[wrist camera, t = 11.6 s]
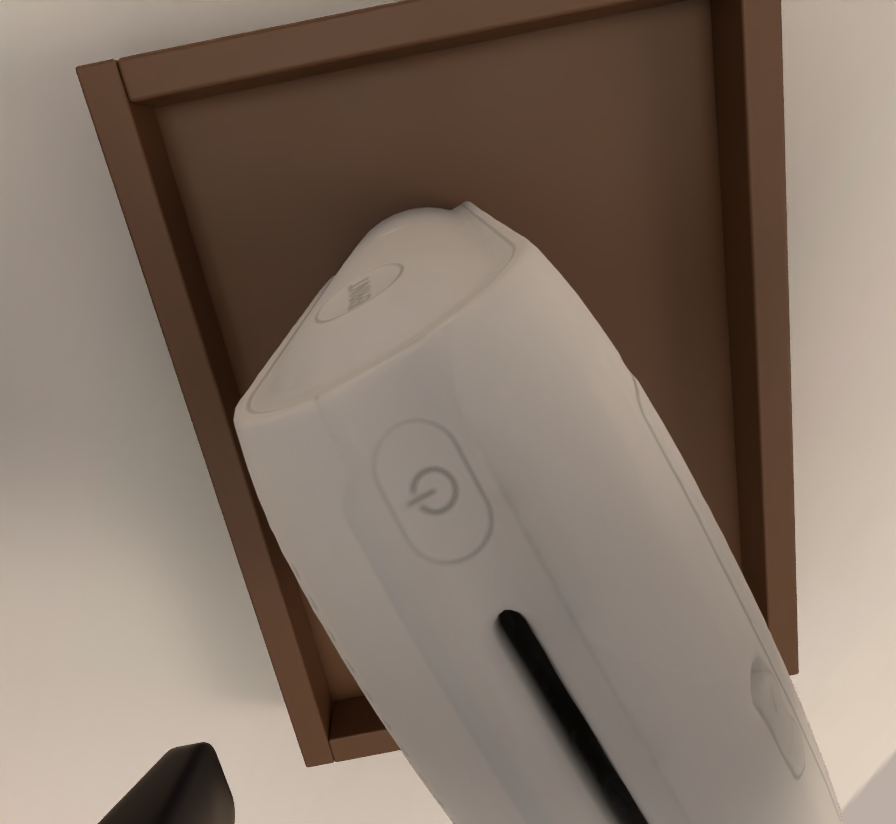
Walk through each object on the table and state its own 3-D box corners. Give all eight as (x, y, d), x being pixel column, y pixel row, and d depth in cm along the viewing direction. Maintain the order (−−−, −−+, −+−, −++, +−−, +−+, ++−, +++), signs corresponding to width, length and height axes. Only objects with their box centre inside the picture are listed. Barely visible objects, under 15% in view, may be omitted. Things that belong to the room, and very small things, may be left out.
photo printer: (301, 260, 17) (52, 502, 5) (465, 165, 16) (620, 183, 4) (506, 591, 20) (647, 1210, 8) (648, 520, 19) (1014, 1072, 8)
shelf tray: (316, 707, 22) (305, 768, 20) (118, 78, 16) (73, 66, 14) (760, 622, 22) (799, 674, 19) (728, -45, 16) (780, -77, 14)
